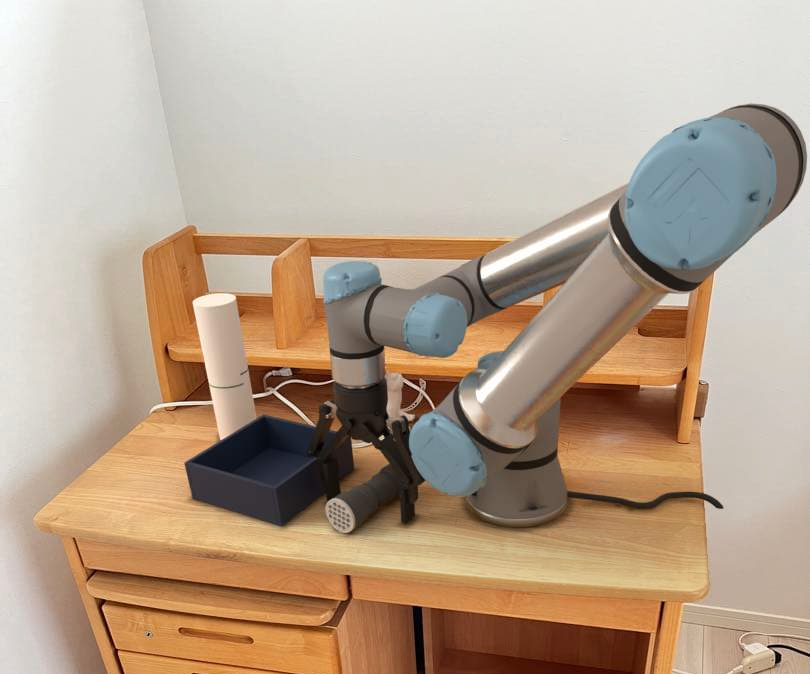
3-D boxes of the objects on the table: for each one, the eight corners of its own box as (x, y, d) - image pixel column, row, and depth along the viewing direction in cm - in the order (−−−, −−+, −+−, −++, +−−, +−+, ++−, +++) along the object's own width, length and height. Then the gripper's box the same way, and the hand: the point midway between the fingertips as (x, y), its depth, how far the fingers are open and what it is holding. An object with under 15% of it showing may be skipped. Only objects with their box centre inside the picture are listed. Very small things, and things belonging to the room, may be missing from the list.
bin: (354, 470, 137) (351, 434, 133) (281, 526, 123) (275, 488, 120) (269, 448, 145) (263, 414, 142) (192, 498, 132) (183, 462, 128)
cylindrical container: (266, 430, 151) (244, 295, 137) (243, 447, 146) (217, 308, 132) (235, 424, 154) (210, 291, 140) (211, 440, 149) (183, 304, 135)
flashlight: (391, 483, 132) (388, 453, 129) (417, 492, 129) (416, 462, 126) (327, 526, 122) (323, 495, 120) (354, 537, 120) (351, 505, 117)
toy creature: (406, 440, 145) (402, 376, 138) (372, 438, 146) (367, 375, 139) (419, 411, 154) (415, 350, 148) (387, 410, 156) (383, 349, 149)
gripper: (451, 384, 111) (453, 516, 123) (304, 355, 122) (319, 478, 134) (423, 405, 106) (428, 541, 118) (272, 373, 117) (290, 500, 129)
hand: (370, 508), depth 126 cm, fingers open, 13 cm apart
